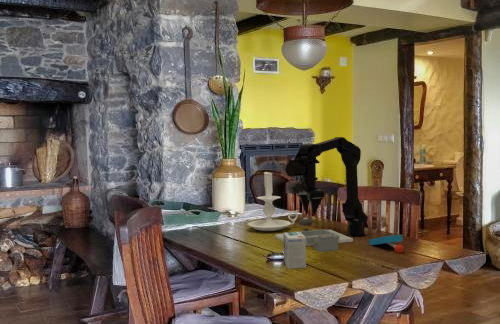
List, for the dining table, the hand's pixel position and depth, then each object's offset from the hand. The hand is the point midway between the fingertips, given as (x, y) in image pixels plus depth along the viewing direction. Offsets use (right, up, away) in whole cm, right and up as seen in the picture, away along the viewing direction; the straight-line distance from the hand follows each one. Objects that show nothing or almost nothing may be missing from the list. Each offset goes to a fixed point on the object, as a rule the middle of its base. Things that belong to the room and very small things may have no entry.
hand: (309, 212), depth 226 cm
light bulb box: (-8, -16, -30) cm, 35 cm away
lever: (+30, -14, -9) cm, 34 cm away
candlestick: (-13, -12, +36) cm, 40 cm away
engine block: (+6, -14, -8) cm, 17 cm away
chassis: (+3, -13, +12) cm, 17 cm away
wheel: (0, -7, +19) cm, 20 cm away
